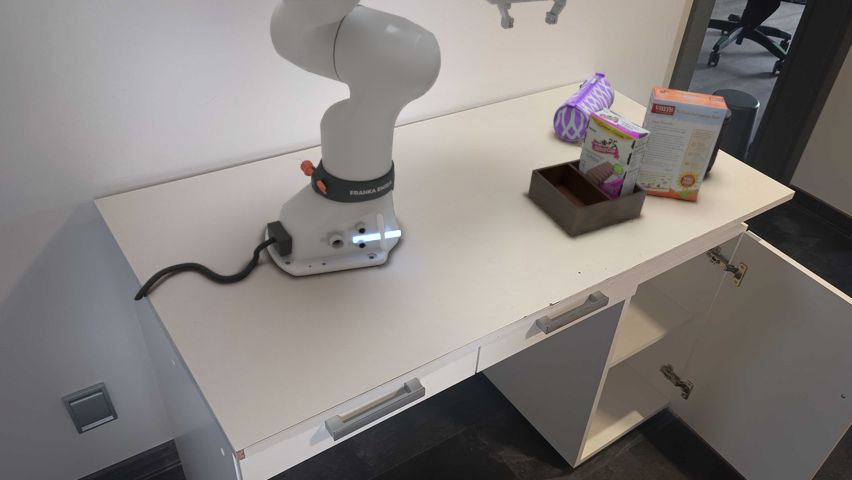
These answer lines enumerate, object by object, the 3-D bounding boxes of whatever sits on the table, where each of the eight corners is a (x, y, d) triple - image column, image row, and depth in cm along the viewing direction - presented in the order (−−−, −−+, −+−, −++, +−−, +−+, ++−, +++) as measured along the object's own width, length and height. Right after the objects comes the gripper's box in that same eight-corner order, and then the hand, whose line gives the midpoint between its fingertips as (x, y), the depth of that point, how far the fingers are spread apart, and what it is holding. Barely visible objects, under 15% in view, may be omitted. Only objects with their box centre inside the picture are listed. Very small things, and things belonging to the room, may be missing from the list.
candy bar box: (571, 187, 137) (588, 112, 127) (587, 179, 140) (605, 106, 130) (614, 213, 132) (635, 138, 121) (630, 205, 135) (652, 130, 124)
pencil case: (577, 102, 170) (584, 65, 164) (612, 112, 168) (621, 76, 162) (547, 138, 154) (554, 99, 148) (586, 150, 152) (595, 111, 146)
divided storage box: (571, 236, 126) (577, 210, 123) (527, 195, 135) (532, 169, 131) (639, 216, 134) (647, 191, 130) (593, 178, 143) (599, 154, 139)
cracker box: (692, 187, 145) (724, 95, 132) (695, 202, 141) (729, 109, 127) (626, 176, 145) (652, 84, 132) (628, 192, 141) (655, 97, 127)
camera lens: (666, 163, 152) (686, 100, 142) (697, 160, 154) (718, 99, 145) (685, 182, 146) (707, 119, 137) (716, 179, 149) (740, 117, 139)
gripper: (498, -52, 105) (488, 37, 114) (601, -55, 115) (584, 27, 123) (477, -64, 109) (469, 23, 118) (579, -66, 119) (564, 14, 127)
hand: (529, 25), depth 121 cm, fingers open, 8 cm apart
